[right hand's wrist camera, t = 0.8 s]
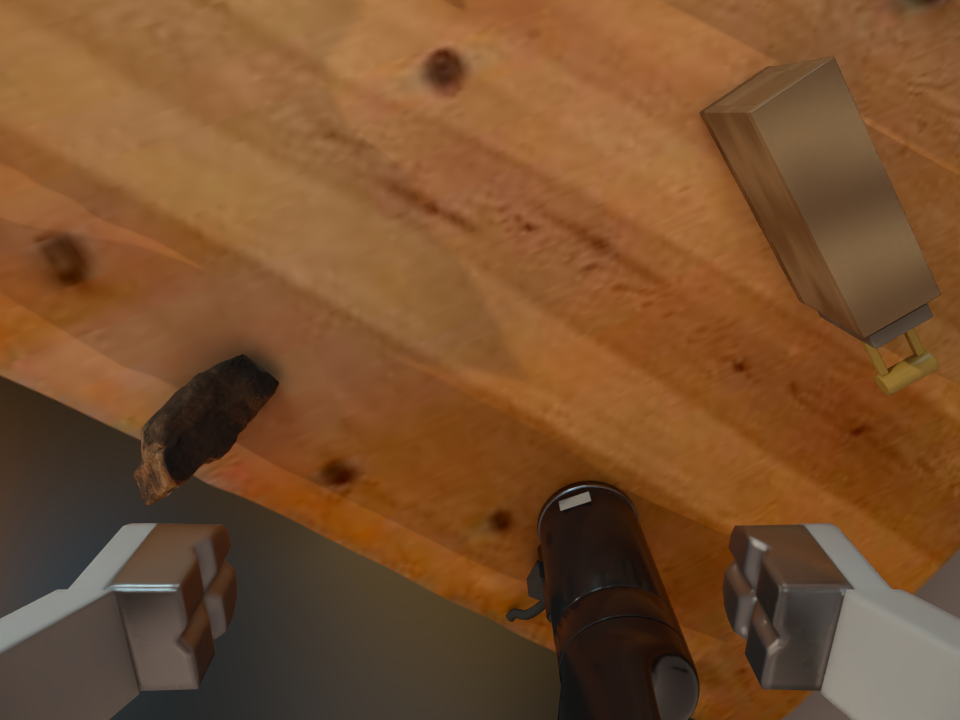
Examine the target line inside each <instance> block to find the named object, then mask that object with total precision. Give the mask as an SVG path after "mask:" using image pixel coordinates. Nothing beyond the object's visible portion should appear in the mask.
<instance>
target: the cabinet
mask: <svg viewBox="0 0 960 720" xmlns="http://www.w3.org/2000/svg"><path fill="white" fill-rule="evenodd" d="M700 114H701V116H702V118H703V120H704V122H705V124H706V125H707V127H708V129H709V131H710V133H711V135H712V137H713V139H714V141H715V142H716V144H717V146H718V148H719V150H720V152H721V154H722V156H723V157H724V159H725V161H726V163H727V165H728V167H729V169H730V171H731V173H732V174H733V176H734V178H735V180H736V182H737V184H738V186H739V188H740V190H741V191H742V193H743V195H744V197H745V199H746V201H747V203H748V205H749V207H750V208H751V210H752V212H753V214H754V216H755V218H756V220H757V222H758V223H759V225H760V227H761V229H762V231H763V233H764V235H765V237H766V239H767V240H768V242H769V244H770V246H771V248H772V250H773V252H774V254H775V256H776V257H777V259H778V261H779V263H780V265H781V267H782V269H783V271H784V273H785V274H786V276H787V278H788V280H789V282H790V284H791V286H792V288H793V289H794V291H795V293H796V295H797V297H798V299H799V301H801V302H802V303H804V304H807V305H808V306H810V307H812V308H814V309H815V310H817V311H819V312H820V313H822V314H824V315H826V316H827V317H829V318H831V319H832V320H834V321H836V322H838V323H839V324H841V325H843V326H844V327H846V328H848V329H850V330H851V331H853V332H855V333H856V334H858V335H860V336H862V337H863V338H866V337H868V336H869V335H871V334H873V333H875V332H876V331H878V330H880V329H882V328H883V327H885V326H887V325H889V324H890V323H892V322H894V321H896V320H897V319H899V318H901V317H903V316H904V315H906V314H908V313H910V312H911V311H913V310H915V309H917V308H919V307H920V306H922V305H924V304H926V303H927V302H929V301H931V300H933V299H934V298H936V297H938V296H940V295H941V293H940V291H939V289H938V286H937V284H936V282H935V280H934V278H933V275H932V273H931V271H930V269H929V266H928V264H927V262H926V260H925V258H924V255H923V253H922V251H921V249H920V246H919V244H918V242H917V240H916V238H915V235H914V233H913V231H912V229H911V226H910V224H909V222H908V220H907V218H906V215H905V213H904V211H903V209H902V206H901V204H900V202H899V200H898V198H897V195H896V193H895V191H894V189H893V186H892V184H891V182H890V180H889V178H888V175H887V173H886V171H885V169H884V166H883V164H882V162H881V160H880V158H879V155H878V153H877V151H876V149H875V146H874V144H873V142H872V140H871V138H870V135H869V133H868V131H867V129H866V126H865V124H864V122H863V120H862V118H861V115H860V113H859V111H858V109H857V106H856V104H855V102H854V100H853V98H852V95H851V93H850V91H849V89H848V86H847V84H846V82H845V80H844V78H843V75H842V73H841V71H840V69H839V66H838V64H837V62H836V60H835V58H834V57H829V58H822V59H816V60H810V61H804V62H797V63H791V64H785V65H779V66H773V67H772V66H770V67H766V68H765V69H763V70H762V71H760V72H759V73H757V74H756V75H754V76H753V77H751V78H750V79H748V80H747V81H745V82H744V83H742V84H741V85H739V86H738V87H737V88H735V89H734V90H732V91H731V92H729V93H728V94H726V95H725V96H723V97H722V98H720V99H719V100H717V101H716V102H714V103H713V104H711V105H710V106H708V107H707V108H706V109H704V110H703V111H701V112H700Z"/></svg>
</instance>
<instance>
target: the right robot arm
mask: <svg viewBox="0 0 960 720" xmlns="http://www.w3.org/2000/svg"><path fill="white" fill-rule="evenodd" d="M230 549H231V543H230V538H229V533H228V530H227V529H226V528H225V527H224V526H223V525H207V524H158V523H134V524H133V523H132V524H128V525H125V526H123V527H122V528H121V529H120V530H119V531H118V532H117V534H116V535H115V536H114V537H113V538H112V539H111V541H110V542H109V543H108V544H107V545H106V546H105V548H104V549H103V550H102V551H101V552H100V553H99V554H98V555H97V557H96V558H95V559H94V560H93V561H92V562H91V563H90V565H89V566H88V567H87V568H86V569H85V570H84V571H83V573H82V574H81V575H80V576H79V577H78V578H77V579H76V581H75V582H74V583H73V584H72V585H71V586H70V588H69V589H68V590H56V591H54V592H52V593H50V594H48V595H46V596H44V597H42V598H40V599H38V600H36V601H34V602H32V603H30V604H28V605H26V606H24V607H22V608H20V609H18V610H17V611H14V612H13V613H11V614H9V615H7V616H5V617H3V618H1V619H0V720H109V719H110V718H111V717H113V716H114V715H115V714H116V713H117V712H118V711H120V710H121V709H122V708H123V707H124V706H125V705H127V704H128V703H129V702H130V701H131V700H133V699H134V698H135V697H136V696H137V695H138V694H139V691H143V690H178V689H198V687H199V685H200V683H201V681H202V679H203V677H204V675H205V673H206V671H207V669H208V667H209V665H210V663H211V661H212V659H213V657H214V655H215V650H214V644H213V640H215V639H216V638H217V637H219V636H220V635H222V634H223V633H224V632H226V630H227V628H228V626H229V624H230V622H231V620H232V617H233V613H234V608H235V604H236V599H237V581H236V574H235V570H234V569H233V568H232V567H231V566H230V565H229V564H228V563H227V562H226V561H225V558H226V556H227V554H228V552H229V551H230ZM729 549H730V551H731V552H732V554H733V556H734V558H735V561H734V562H733V563H732V564H731V565H730V566H729V567H728V568H727V569H726V570H725V574H724V582H723V596H724V606H725V610H726V613H727V617H728V620H729V622H730V624H731V626H732V628H733V630H734V632H736V633H737V634H738V635H740V636H741V637H743V638H744V639H745V640H747V644H746V650H745V655H746V657H747V659H748V661H749V663H750V665H751V667H752V669H753V671H754V673H755V675H756V677H757V679H758V681H759V683H760V685H761V687H762V689H781V690H816V691H821V694H822V695H823V696H824V697H825V698H827V699H828V700H829V701H830V702H831V703H832V704H834V705H835V706H836V707H837V708H838V709H840V710H841V711H842V712H843V713H844V714H845V715H847V716H848V717H849V718H850V719H851V720H960V619H959V618H957V617H955V616H953V615H951V614H949V613H947V612H945V611H943V610H941V609H939V608H938V607H936V606H934V605H932V604H930V603H928V602H926V601H924V600H922V599H920V598H918V597H916V596H914V595H912V594H910V593H908V592H906V591H904V590H892V589H891V588H890V586H889V585H888V584H887V583H886V582H885V581H884V580H883V578H882V577H881V576H880V575H879V574H878V573H877V571H876V570H875V569H874V568H873V567H872V566H871V565H870V563H869V562H868V561H867V560H866V559H865V558H864V557H863V555H862V554H861V553H860V552H859V551H858V550H857V549H856V547H855V546H854V545H853V544H852V543H851V542H850V541H849V539H848V538H847V537H846V536H845V535H844V534H843V533H842V531H841V530H840V529H839V528H838V527H837V526H835V525H833V524H831V523H814V524H798V525H744V526H735V527H734V529H733V531H732V533H731V537H730V543H729Z"/></svg>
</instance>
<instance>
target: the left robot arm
mask: <svg viewBox="0 0 960 720" xmlns="http://www.w3.org/2000/svg"><path fill="white" fill-rule="evenodd" d="M538 535H539V540H540V546H539V547H538V556H539V560H537V562H536V564H535V565H534V567H533V569H532V571H531V572H530V574H529V576H528V578H527V585H528V595H529V596H530V597H532V598H535V599H538V600H540V601H539V602H538V603H536V604H535V605H534V606H532V607H531V608H529V609H527V610H521V609H512V610H511V611H509V612H508V613H507V615H506V618H507V619H508V620H509V621H511V622H513V621H514V619H516V618H518V619H522V620H528V619H531V618H533V617H535V616H537V615H538V614H539V613H541V612H542V611H543V610H544V609H546V616H547V619H548V620H549V622H551V623H552V627H553V634H554V641H555V647H556V654H557V661H558V668H559V676H560V683H561V691H560V700H559V709H558V720H688V719H689V718H690V717H691V715H692V713H693V712H694V710H695V708H696V705H697V702H698V698H699V690H700V688H699V678H698V674H697V670H696V667H695V664H694V662H693V659H692V657H691V654H690V651H689V649H688V646H687V643H686V641H685V638H684V636H683V633H682V631H681V628H680V626H679V623H678V620H677V618H676V616H675V613H674V611H673V608H672V605H671V603H670V600H669V598H668V595H667V593H666V590H665V587H664V585H663V582H662V580H661V577H660V575H659V572H658V570H657V567H656V564H655V562H654V559H653V557H652V554H651V552H650V549H649V546H648V544H647V541H646V539H645V536H644V534H643V531H642V528H641V526H640V523H639V519H638V515H637V513H636V510H635V508H634V505H633V504H632V502H631V500H630V499H629V498H628V497H627V496H626V495H625V494H624V493H623V492H622V491H620V490H619V489H617V488H615V487H613V486H611V485H608V484H605V483H600V482H580V483H576V484H572V485H569V486H567V487H565V488H563V489H561V490H559V491H558V492H556V493H555V494H554V495H553V496H551V497H550V498H549V499H548V501H547V502H546V503H545V505H544V506H543V508H542V510H541V512H540V515H539V519H538Z"/></svg>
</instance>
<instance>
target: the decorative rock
mask: <svg viewBox="0 0 960 720" xmlns="http://www.w3.org/2000/svg"><path fill="white" fill-rule="evenodd" d="M278 385H279V382H278V381H277V380H276V379H275V378H273V377H272V376H271V375H270V374H269V373H268V372H266V371H265V370H264V369H262V368H261V367H259V366H258V365H257V364H255V363H254V362H253V361H252V360H250V359H249V358H248V357H247V356H246V355H243V354H241V355H240V356H236V357H234V358H232V359H230V360H226V361H224V362H221V363H219V364H217V365H215V366H213V367H212V368H210V369H209V370H207V371H205V372H203V373H199V374H198V375H196V376H195V377H194V378H193V379H192V380H191V381H190V382H189V383H188V384H187V385H186V386H184V387H182V388H181V389H179V390H178V391H177V392H175V394H174V395H173V396H172V397H171V398H170V399H169V400H168V401H167V402H166V404H165V405H164V406H163V407H162V408H161V409H160V410H159V411H158V412H156V413H155V414H154V415H153V416H152V417H151V418H150V419H149V421H148V422H147V423H146V424H145V425H144V426H143V427H142V429H141V433H140V434H141V435H142V439H141V444H142V446H141V452H142V458H143V459H142V461H141V463H140V465H139V467H138V468H137V469H136V471H135V473H134V477H135V479H137V484H138V486H139V488H140V491H141V495H142V498H143V501H144V503H145V504H147V505H151V504H154V503H155V502H157V501H158V500H160V499H162V498H164V497H166V496H169V495H170V494H171V493H172V492H173V491H174V490H175V489H176V488H178V487H179V486H180V485H182V484H184V483H185V482H186V481H187V480H188V479H189V478H190V477H191V476H192V475H193V474H194V473H195V472H196V471H197V469H198V468H199V467H201V466H202V465H203V464H209V463H211V462H213V461H215V460H220V459H221V458H222V457H223V456H224V455H225V454H226V453H227V452H229V450H230V449H231V447H232V446H233V445H234V444H235V442H236V440H237V436H238V434H239V433H240V432H242V431H243V430H244V429H245V428H246V426H247V424H248V423H249V422H250V421H251V420H252V419H253V418H254V417H255V416H256V415H257V413H258V411H259V410H260V409H261V408H262V407H263V406H264V405H265V404H266V403H267V401H268V400H269V399H270V398H271V397H272V395H273V394H274V393H275V391H276V389H277V387H278Z"/></svg>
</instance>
